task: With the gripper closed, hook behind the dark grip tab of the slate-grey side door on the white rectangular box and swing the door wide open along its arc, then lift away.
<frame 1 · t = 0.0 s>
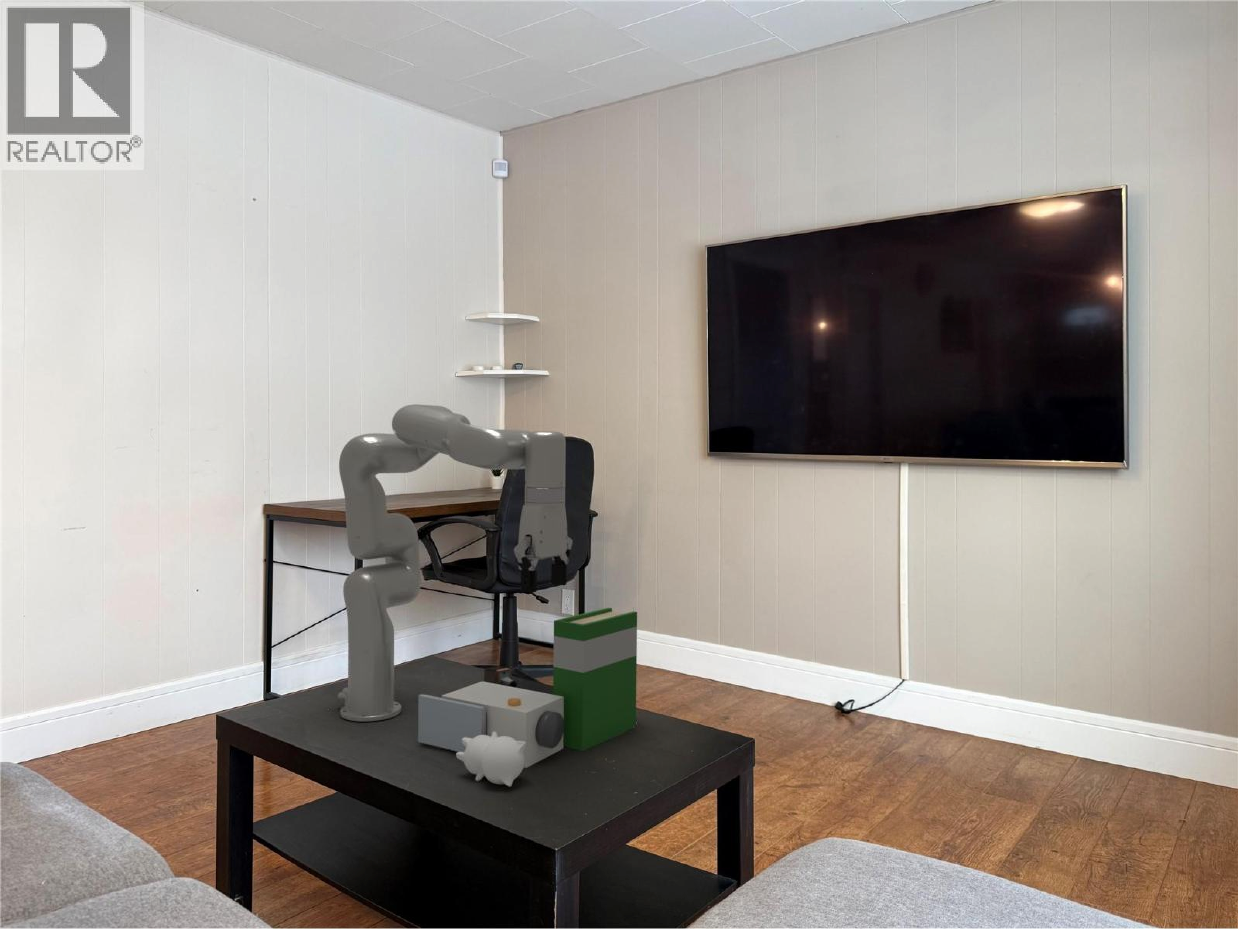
hand: (544, 588, 166), 31 cm above the table, tool pointing down, fingers open, 9 cm apart
hardback book: (595, 736, 177), on the table
side door: (454, 724, 167), point 5 cm above the table, hinge at 0.0°
electronic device: (501, 703, 199), on the table
cat figurine: (496, 779, 154), on the table
white rectangular box: (502, 748, 169), on the table
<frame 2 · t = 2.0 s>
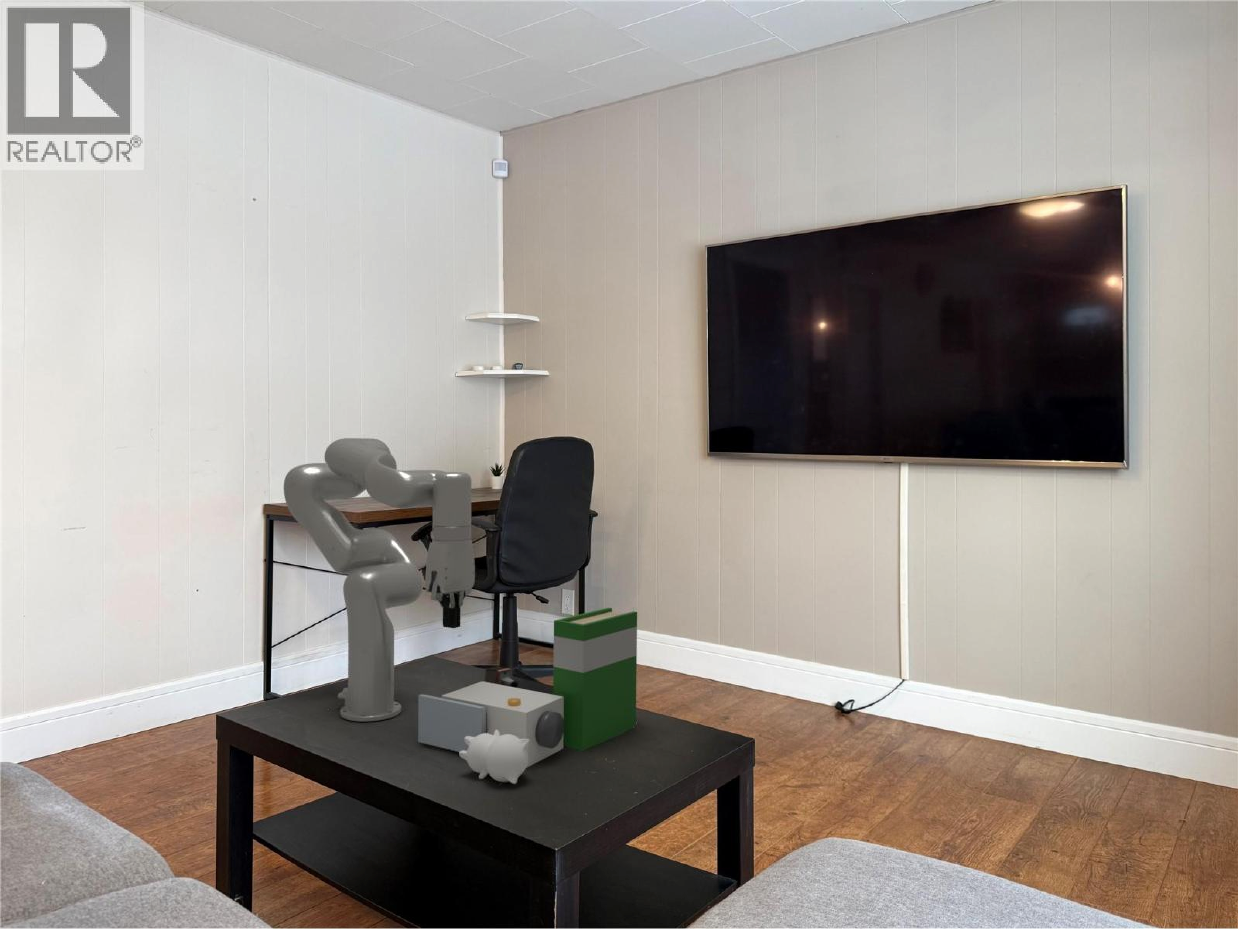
hand: (451, 626, 175), 22 cm above the table, tool pointing down, fingers closed
cat figurine: (499, 777, 155), on the table
everything else where it was.
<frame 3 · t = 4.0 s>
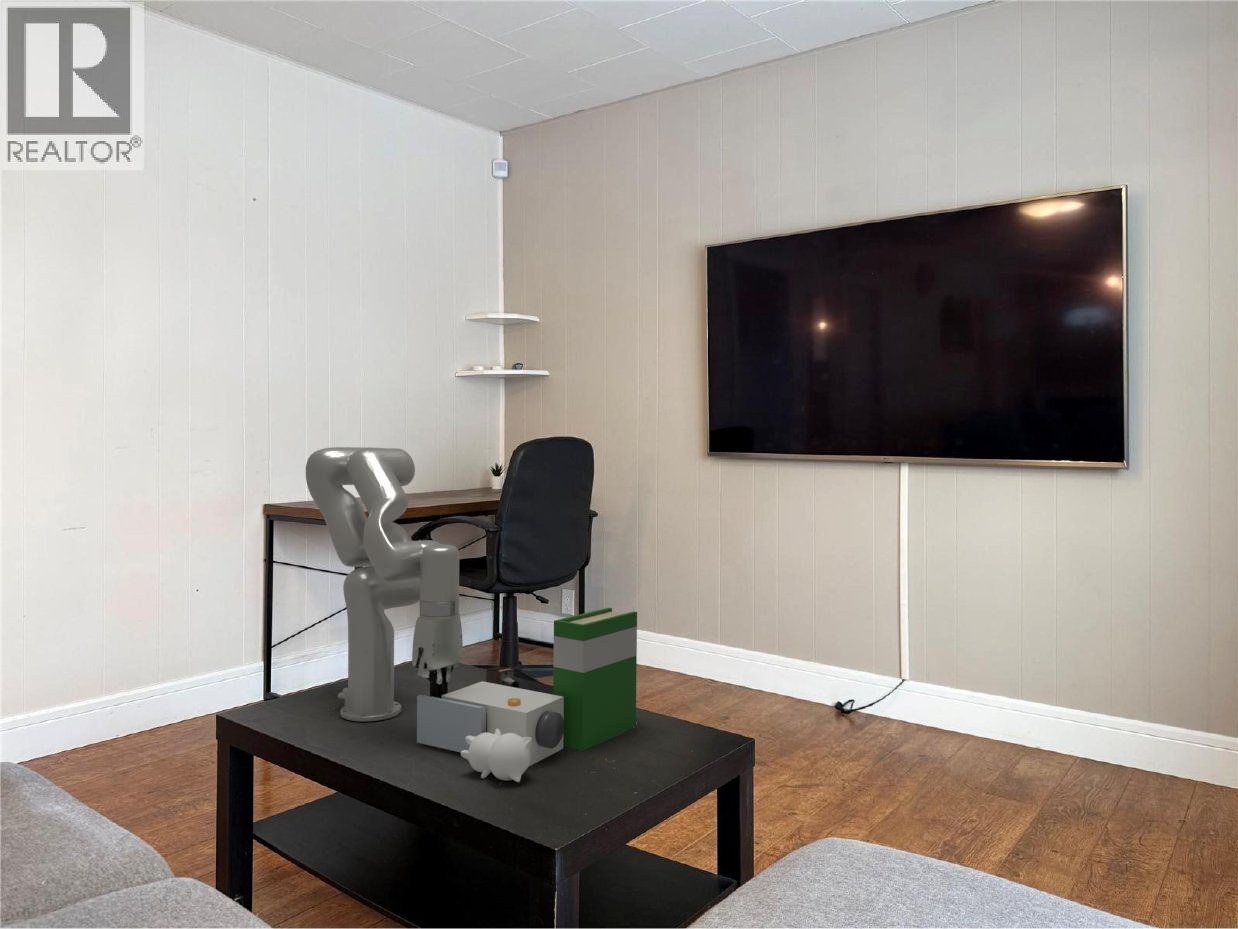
hand: (438, 702, 172), 8 cm above the table, tool pointing down, fingers closed
side door: (454, 724, 167), point 5 cm above the table, hinge at 1.4°, touching gripper
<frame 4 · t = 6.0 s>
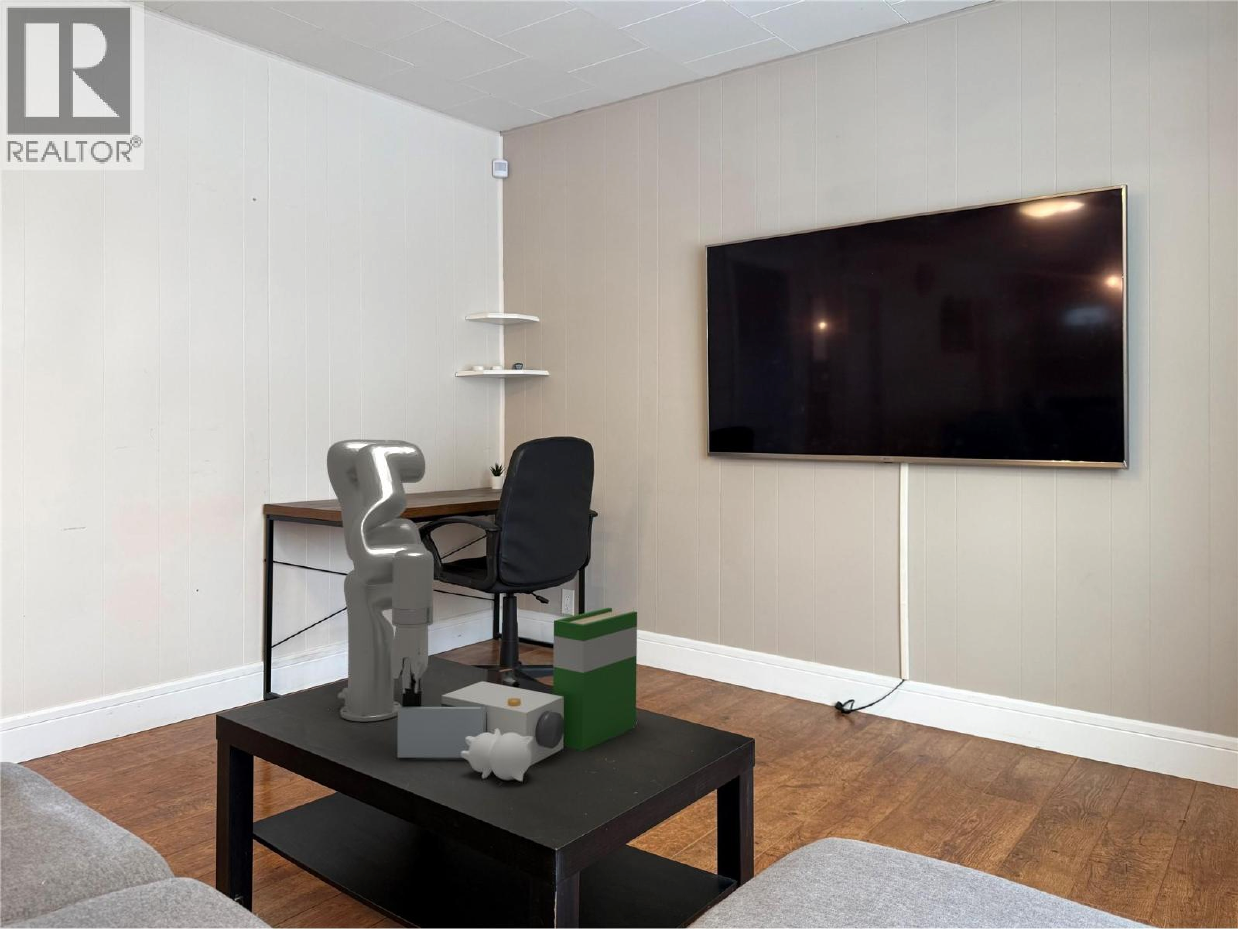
hand: (411, 713, 166), 8 cm above the table, tool pointing down, fingers closed
side door: (442, 730, 163), point 5 cm above the table, hinge at 32.5°, touching gripper
cat figurine: (501, 776, 156), on the table, touching white rectangular box
everything else where it was.
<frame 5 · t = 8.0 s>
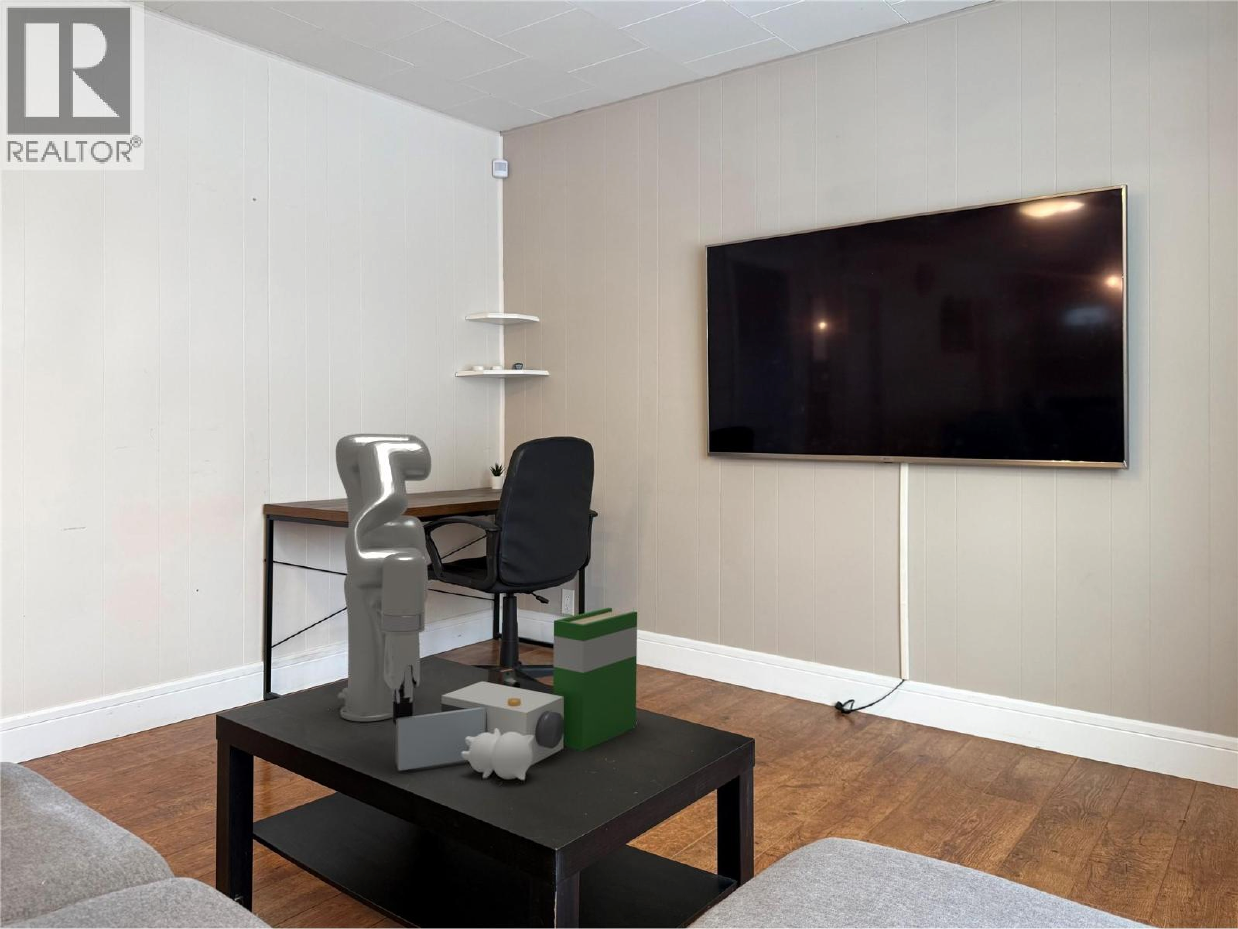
hand: (402, 723, 159), 8 cm above the table, tool pointing down, fingers closed
side door: (441, 736, 160), point 5 cm above the table, hinge at 57.7°
cat figurine: (502, 775, 156), on the table
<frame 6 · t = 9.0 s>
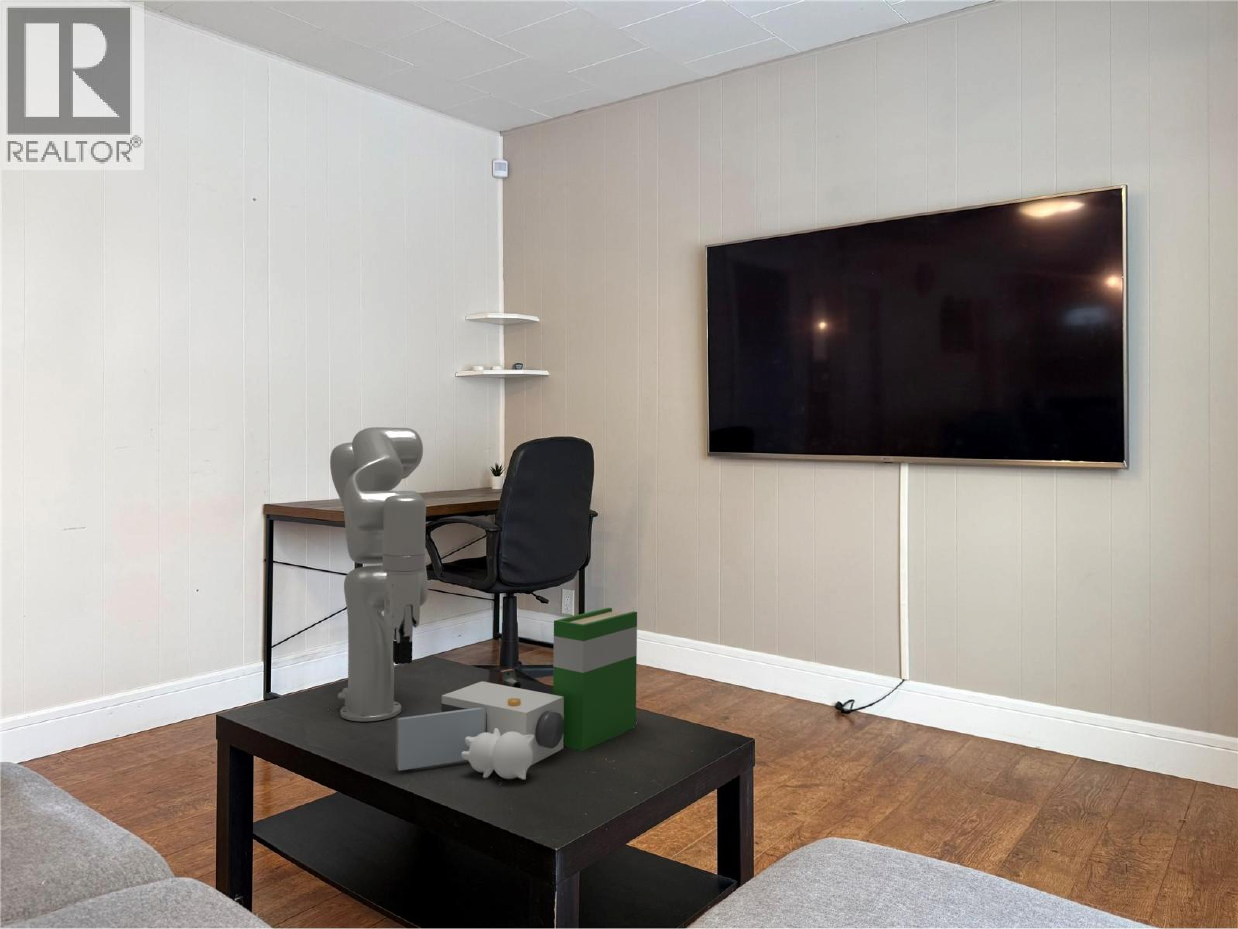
hand: (402, 662, 162), 18 cm above the table, tool pointing down, fingers closed
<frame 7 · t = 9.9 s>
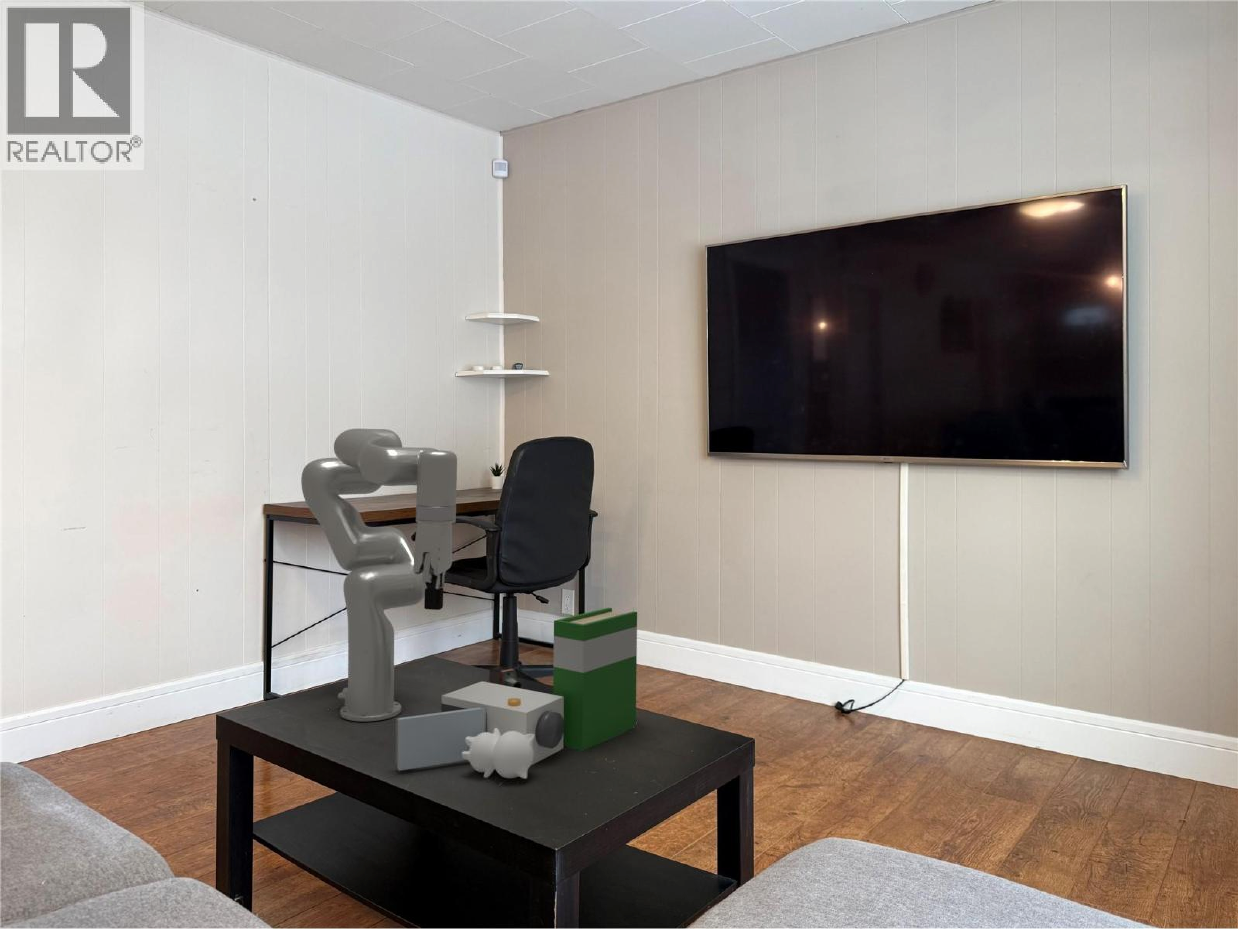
hand: (433, 608, 171), 26 cm above the table, tool pointing down, fingers closed
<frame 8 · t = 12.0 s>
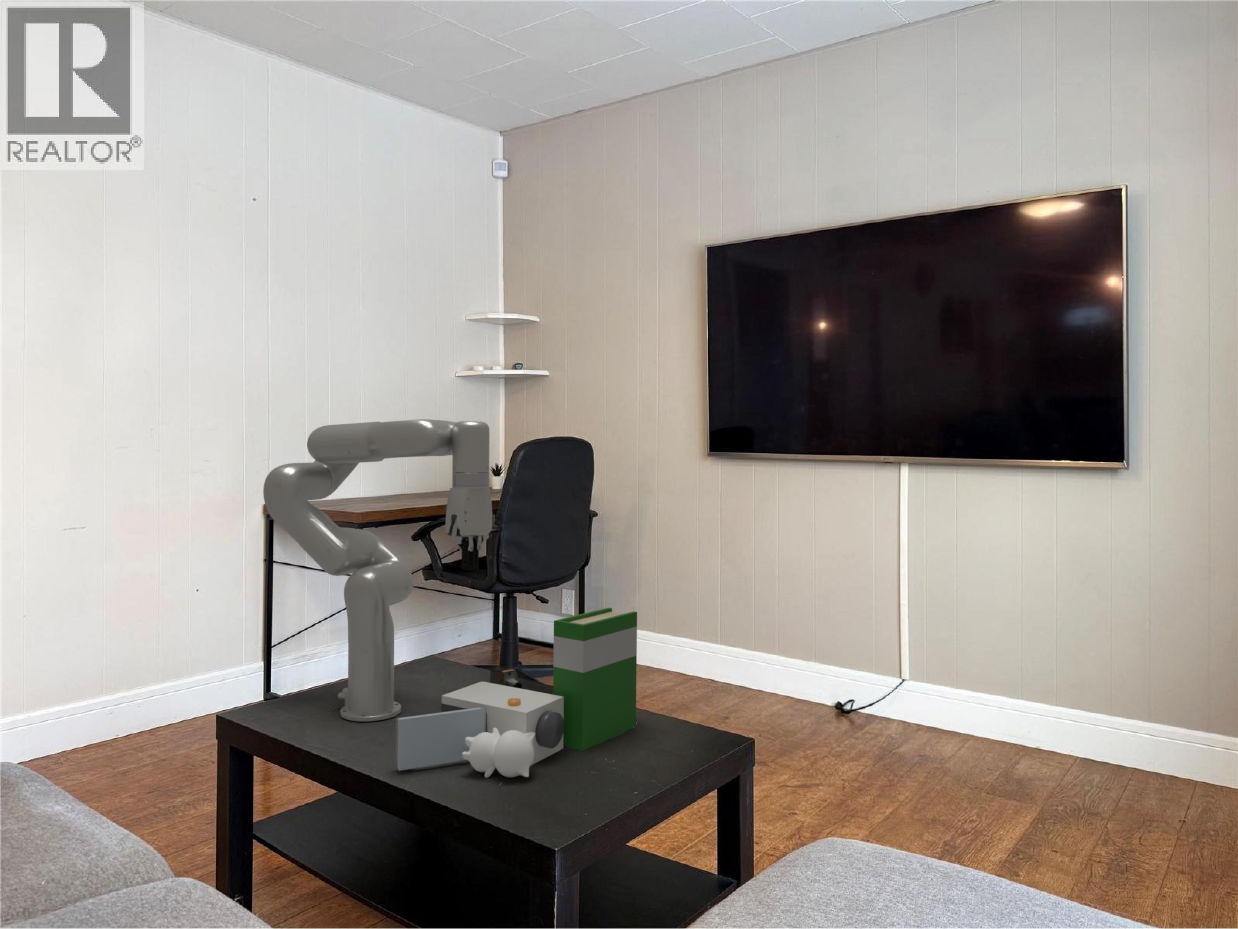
hand: (470, 569, 183), 32 cm above the table, tool pointing down, fingers closed
at the end: side door at +58° (first picture: +0°) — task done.
